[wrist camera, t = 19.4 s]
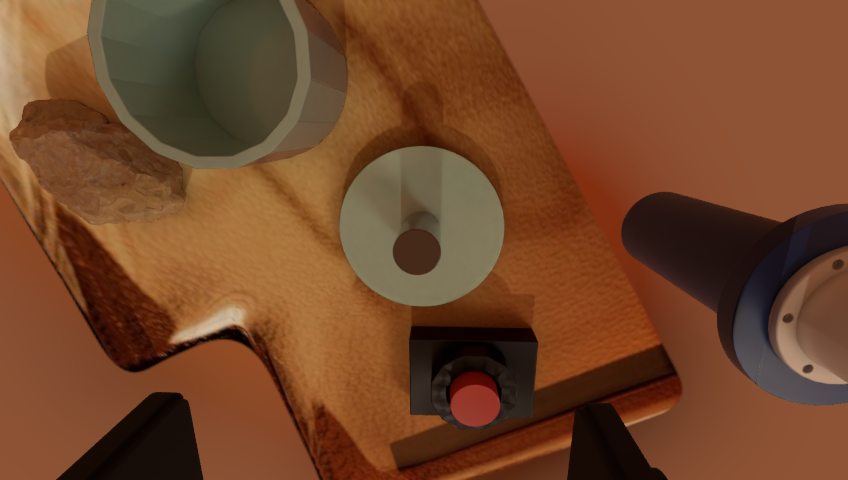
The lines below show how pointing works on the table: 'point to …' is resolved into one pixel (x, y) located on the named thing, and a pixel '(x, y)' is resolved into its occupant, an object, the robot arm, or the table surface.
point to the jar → (219, 76)
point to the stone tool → (96, 164)
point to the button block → (472, 368)
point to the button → (474, 398)
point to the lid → (421, 226)
